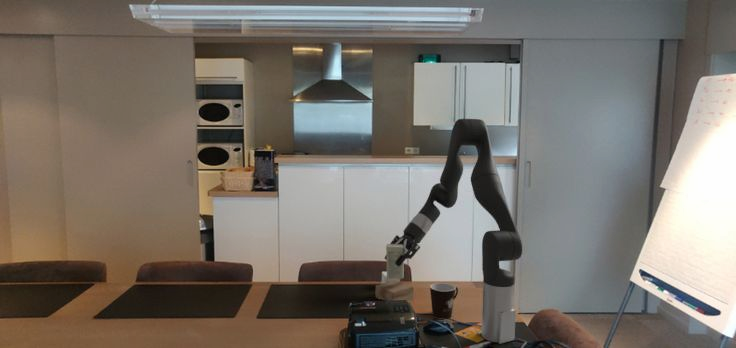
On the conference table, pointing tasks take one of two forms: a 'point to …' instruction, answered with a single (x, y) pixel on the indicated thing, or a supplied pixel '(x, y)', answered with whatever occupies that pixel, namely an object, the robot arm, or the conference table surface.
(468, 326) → the conference table surface
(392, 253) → the skincare box
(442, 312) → the coffee mug
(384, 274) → the white cube
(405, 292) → the walnut block
